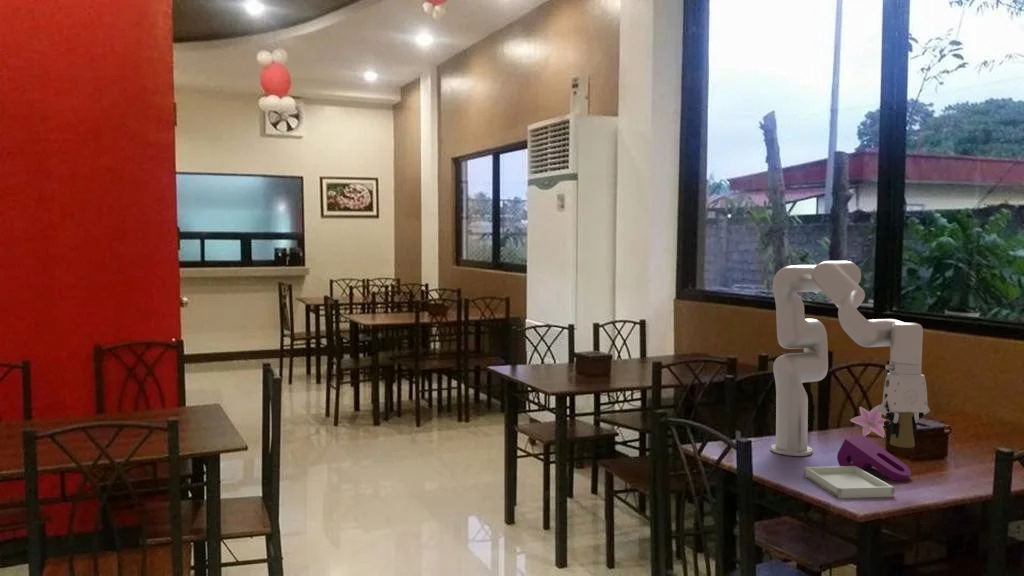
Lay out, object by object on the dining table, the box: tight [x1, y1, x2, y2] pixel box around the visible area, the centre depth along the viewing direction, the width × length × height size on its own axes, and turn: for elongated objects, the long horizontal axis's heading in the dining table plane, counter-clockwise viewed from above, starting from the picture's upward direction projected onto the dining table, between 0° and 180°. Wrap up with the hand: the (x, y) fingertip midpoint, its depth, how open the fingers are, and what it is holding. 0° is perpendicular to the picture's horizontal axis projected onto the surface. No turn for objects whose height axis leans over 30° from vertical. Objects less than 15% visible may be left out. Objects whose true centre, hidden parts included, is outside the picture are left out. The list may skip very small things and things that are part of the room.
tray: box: [803, 465, 895, 499], centre depth 208 cm, size 20×15×2 cm
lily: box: [850, 404, 887, 439], centre depth 267 cm, size 12×12×10 cm
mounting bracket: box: [836, 433, 912, 482], centre depth 220 cm, size 9×8×18 cm
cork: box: [889, 412, 916, 448], centre depth 203 cm, size 6×6×11 cm
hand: (902, 435), depth 204 cm, fingers closed on cork, 3 cm apart
